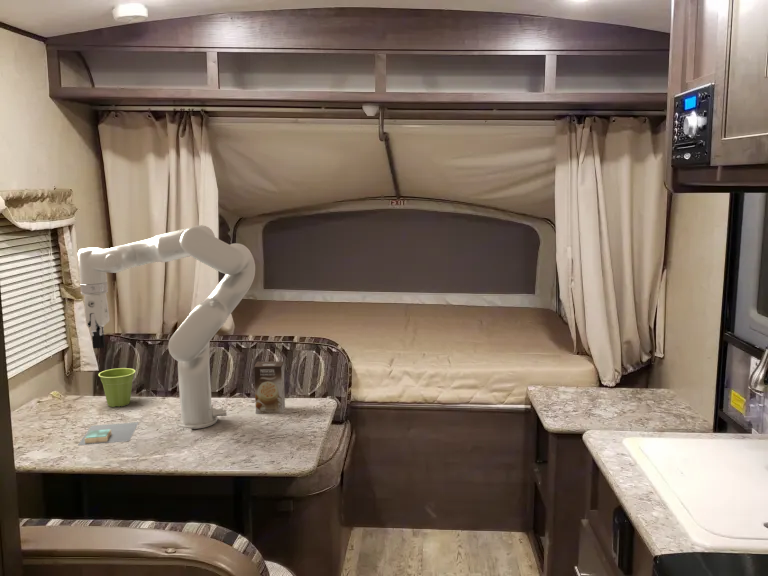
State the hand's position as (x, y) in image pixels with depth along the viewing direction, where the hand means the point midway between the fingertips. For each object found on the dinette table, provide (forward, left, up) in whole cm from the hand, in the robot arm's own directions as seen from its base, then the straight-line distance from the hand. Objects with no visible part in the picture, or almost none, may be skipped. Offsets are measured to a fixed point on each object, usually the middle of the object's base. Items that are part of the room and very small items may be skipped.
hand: (99, 347), depth 202 cm
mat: (-3, +9, -25) cm, 27 cm away
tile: (+2, +13, -24) cm, 27 cm away
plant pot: (0, -21, -25) cm, 33 cm away
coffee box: (-51, -2, -25) cm, 57 cm away
